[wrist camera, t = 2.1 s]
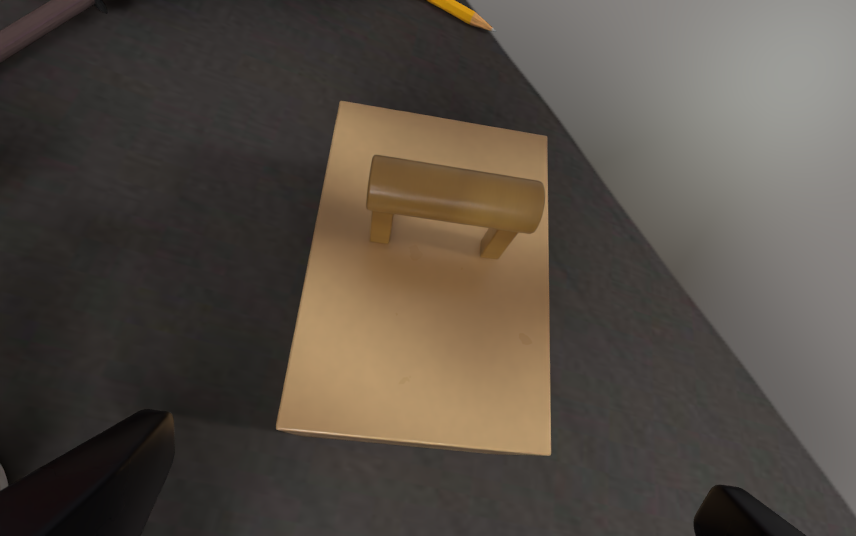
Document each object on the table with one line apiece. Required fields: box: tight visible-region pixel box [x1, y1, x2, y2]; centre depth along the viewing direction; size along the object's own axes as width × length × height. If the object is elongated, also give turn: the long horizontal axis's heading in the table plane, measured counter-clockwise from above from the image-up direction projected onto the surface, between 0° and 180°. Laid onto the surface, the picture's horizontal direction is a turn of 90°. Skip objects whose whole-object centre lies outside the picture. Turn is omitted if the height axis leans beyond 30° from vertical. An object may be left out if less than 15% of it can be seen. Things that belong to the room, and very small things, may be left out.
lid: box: [276, 101, 551, 456], centre depth 15 cm, size 12×9×5 cm
